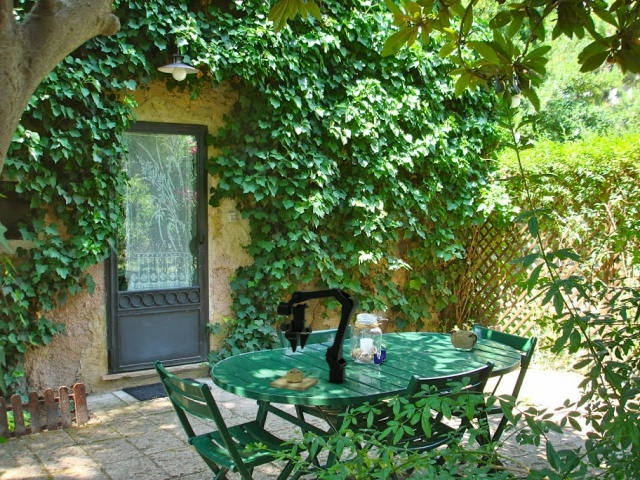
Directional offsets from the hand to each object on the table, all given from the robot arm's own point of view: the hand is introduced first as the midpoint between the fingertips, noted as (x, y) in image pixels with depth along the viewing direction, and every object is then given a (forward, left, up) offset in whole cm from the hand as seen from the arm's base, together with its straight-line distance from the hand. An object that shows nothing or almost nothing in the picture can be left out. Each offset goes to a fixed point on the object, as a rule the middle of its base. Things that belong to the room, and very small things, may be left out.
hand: (298, 350), depth 295 cm
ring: (-5, +14, -10) cm, 18 cm away
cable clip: (-26, -45, -12) cm, 53 cm away
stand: (-5, +14, -12) cm, 19 cm away
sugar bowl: (-59, -100, -12) cm, 117 cm away
